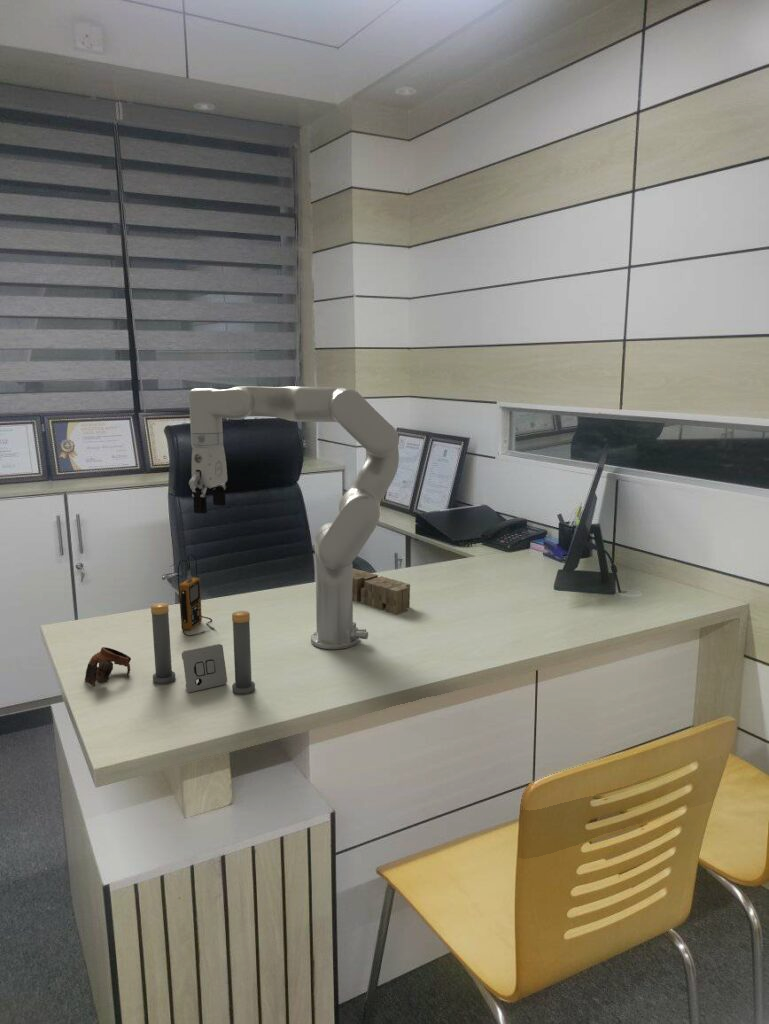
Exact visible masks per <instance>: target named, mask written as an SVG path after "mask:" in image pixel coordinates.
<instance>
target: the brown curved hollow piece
mask: <svg viewBox="0 0 769 1024" xmlns="http://www.w3.org/2000/svg"><path fill="white" fill-rule="evenodd" d="M131 660H132V658H131V656H129V655H127V654H125V653H124V652H122V651H119V650H117V649H114V648H110V647H107V646H105V647H103V646H102V647H101V648H100V651H98V652H97V653H95V654H94V655H92V656H91V658H90V660H89V662H88V663H87V666H86V669H85V670H86V671H85V677H84V680H85V681H84V682H86V683H87V684H88V685H91V686H93V687H95V686H96V682H97V683H99V684H107V683H108V681H109V677H110V675H111V674H112V671H113V670H114V665H119V666H124V667H126V669H127V671H126V677H129V676H130V673H131V664H130V662H131Z"/></svg>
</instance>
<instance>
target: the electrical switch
mask: <svg viewBox="0 0 769 1024" xmlns="http://www.w3.org/2000/svg"><path fill="white" fill-rule="evenodd" d="M181 660H182V661H183V662H182V663H183V669H184V670H183V671H184V678H185V690H186V691H187V692H188V693H193V692H197V691H201V690H205V689H210V688H214V687H219V686H223V685H226V684H227V683H228V676H227V675H228V674H227V667H226V661H225V655H224V647H223V645H222V644H221V643H216V644H210V645H206V646H201V647H196V648H191V649H186V650H183V651H182V652H181ZM197 680H198V681H197Z"/></svg>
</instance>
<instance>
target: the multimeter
mask: <svg viewBox="0 0 769 1024" xmlns="http://www.w3.org/2000/svg"><path fill="white" fill-rule="evenodd" d="M190 556H191V557H192V556H193V557H194V560H195V574H196V576H195V577H192V572H191V562H190V558H189V557H190ZM181 562H186V566H187V573H186V574H187V576H186V580H184V581H183V582H181V583H180V578H179V577H180V575H179V574H180V565H181ZM197 566H198V563H197V558H196V556H195V555H194V554H188V555H187V560H186V559H181V560H180V561H179V562H178V567H177V586H178V597H179V608H180V623H181V625H180V627H181V630H182V633H183V634H184V635H185V636H187V637H193V636H198V635H201V634H205V633H206V632H209V631H211V629H212V630H214V631H218V630H217V629H216V628H215V627H213V626H212V625H210V624H209V623H211V622H212V620H213V619H212V618H211V617H207V616H203V615H202V594H201V592H202V591H201V578H200V577H198V569H197ZM203 618H205V619H209V620H210V621H208V622H206V625H207V626H208V627H209V628H210V629H208V630H203V631H199V632H196V633H193V634H186V632H185V631H193V629H194V628H195V627H197V626H198V625H200V624H201V623H202V620H203Z"/></svg>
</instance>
